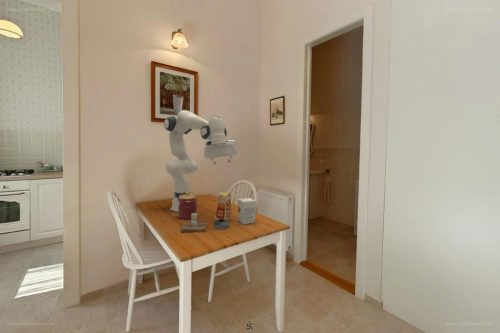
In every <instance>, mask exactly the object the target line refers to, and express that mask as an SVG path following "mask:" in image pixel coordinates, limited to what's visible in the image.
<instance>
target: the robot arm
mask: <svg viewBox="0 0 500 333" xmlns="http://www.w3.org/2000/svg"><path fill="white" fill-rule="evenodd" d="M163 126H164V129H165V130H166V131H168V132H169V135H168V138H169V140H168V141H169V146H170V152H171V154H172V156H173V157H175V158H177V159H173V160H170V161H168V162H167V163H166V164H165V170H166V173H167V174H169V175H170V176H171V177H172V179H173V182H174V193H173V196H174V198H172V200H171V202H172V203H171V204H172V205H171V207H170V208H169V211H173V212H178V205H179V202H178V200H179V199H180V198H179V197H180V196H182V195H184V194H186V193H187V192H189V193H190V194H191V190H190V189H191V186H190V184H191V183H190V181H189V180H188V179H187V178H186V177H185V175H186V174H187V175H189V174H190V175H191V174H193V173H195V172H197V170H198V168H199V167H198V163H197V162H196V161H195V160H194V159H193V158H192V157H191V156H190V154H189V153H188V151H187V147H186V144H185V143H186V142H185V139H184V135H188V134H189V133H190V132H191V131H192V130H198V131H199V130H200V137H201V138H202V139H203V140H206V142H204V145H205V147H204V149H203V150H204V151H203V154H204V158H205V159H210V160H211V161H212V163H213V166H216V165H217V162H216V161H214V158H219V157H220V158H221V157H226V156H227V157H228V156H229V159H228V161H227V162H228V164H229V163H232V161H231V160H232V157H233V156H234V155H237V154H238V151H237V150H238V149H237V148H236V147H237V141H236V140H233V139H232V140H229V139H228V140H227V134H228V131H227V128H226V127H225V124H224V120H223V118H222V117H220V116H215V115H213V116H211V117H209V120H206V119H204V118H203V117H200V116H199V115H197V114H196V113H193V112H191V111H190V110H186V109H182V110H180V111H179V112H178V114H177V116H174V115H172V116H170V117H166V118H165V119H164V122H163ZM207 140H208V141H207Z"/></svg>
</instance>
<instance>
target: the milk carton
mask: <svg viewBox="0 0 500 333" xmlns="http://www.w3.org/2000/svg"><path fill="white" fill-rule="evenodd" d="M216 202H217V203H216V208H215V214H214V215H215V216H214V219H215V220H218V219H225V220H228V221H229V220H230V219H232V201H231V192H230V191H226V190H224V189H220V192H219V195H218V197H217V201H216Z"/></svg>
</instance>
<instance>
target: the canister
mask: <svg viewBox="0 0 500 333" xmlns="http://www.w3.org/2000/svg"><path fill="white" fill-rule="evenodd" d="M179 198H180V199H179V200H178V202H179V205H178V213H177V214H178V215H177V216H178V219H180V220H191V214H192V213H197V214H198V203H197V202H198V199H197V195H195V194H192V193H191V192H190V193H189V192H187V193H186V194H184V195H182V196H180V197H179Z"/></svg>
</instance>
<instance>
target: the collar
mask: <svg viewBox="0 0 500 333" xmlns="http://www.w3.org/2000/svg"><path fill="white" fill-rule="evenodd" d="M229 224H230V223H229V219H228V220H225V219H215V220H213V228H215V229H217V230H219V231H221V230H224V229H229V226H230V225H229Z"/></svg>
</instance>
